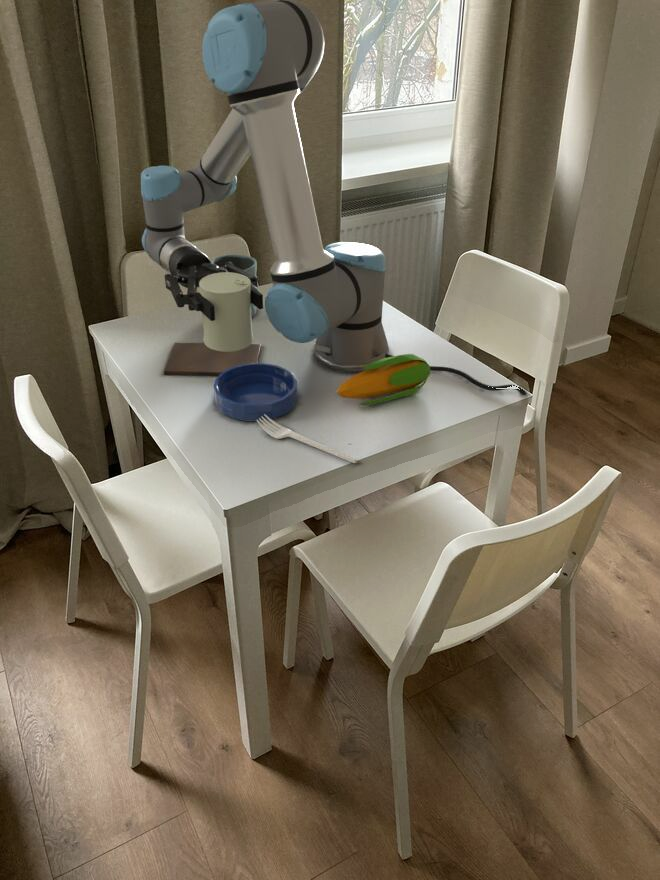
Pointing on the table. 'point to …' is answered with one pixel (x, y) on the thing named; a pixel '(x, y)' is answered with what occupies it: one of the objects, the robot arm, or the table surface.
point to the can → (227, 311)
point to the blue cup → (242, 263)
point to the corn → (387, 379)
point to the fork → (298, 438)
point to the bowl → (255, 391)
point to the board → (207, 359)
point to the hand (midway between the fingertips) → (237, 307)
